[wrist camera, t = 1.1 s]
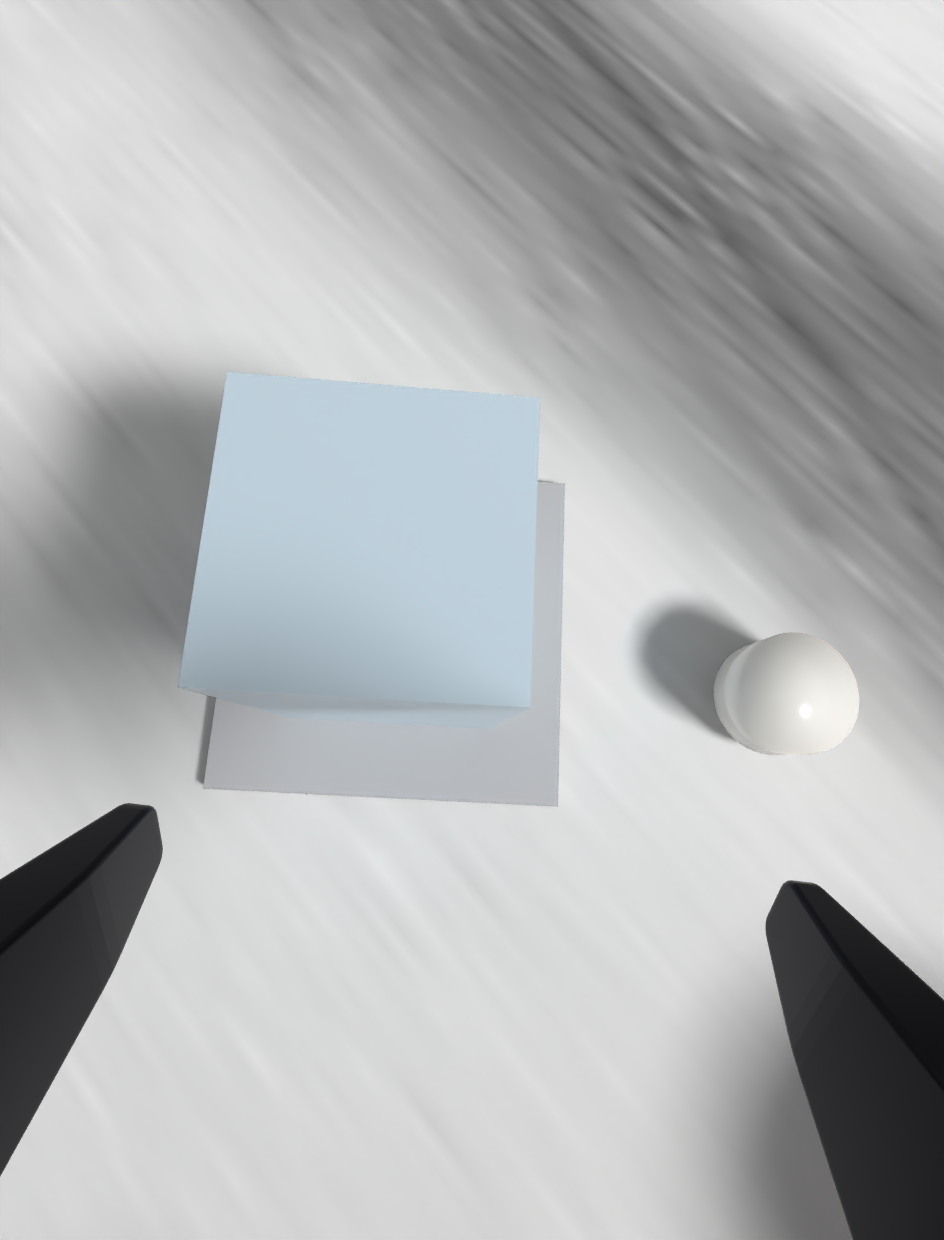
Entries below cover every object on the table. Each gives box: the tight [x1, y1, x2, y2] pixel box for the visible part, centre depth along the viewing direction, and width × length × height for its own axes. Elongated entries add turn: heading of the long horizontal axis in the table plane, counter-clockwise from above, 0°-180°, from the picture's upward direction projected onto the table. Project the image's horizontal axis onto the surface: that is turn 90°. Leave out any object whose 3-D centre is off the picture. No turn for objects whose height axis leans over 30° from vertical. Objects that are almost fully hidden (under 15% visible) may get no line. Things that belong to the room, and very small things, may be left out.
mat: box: [203, 482, 565, 807], centre depth 23 cm, size 12×12×1 cm
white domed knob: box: [714, 633, 859, 755], centre depth 22 cm, size 4×4×3 cm
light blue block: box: [178, 372, 540, 729], centre depth 18 cm, size 7×7×10 cm
